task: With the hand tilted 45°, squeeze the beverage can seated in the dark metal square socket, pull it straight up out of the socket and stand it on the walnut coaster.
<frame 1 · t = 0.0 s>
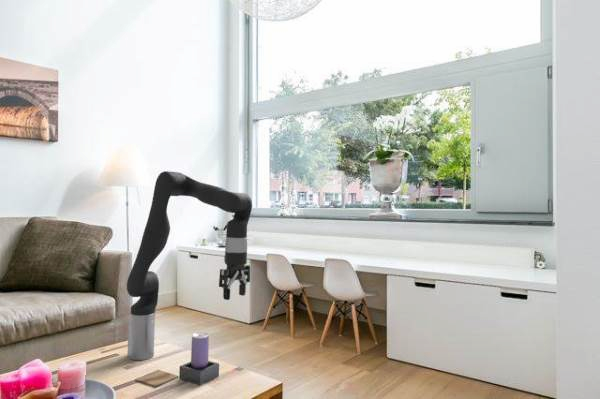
hand: (234, 297, 151), 29 cm above the table, tool pointing down, fingers open, 8 cm apart
beverage can: (199, 378, 153), resting in square socket
square socket: (199, 377, 153), on the table
walnut coaster: (157, 379, 151), on the table
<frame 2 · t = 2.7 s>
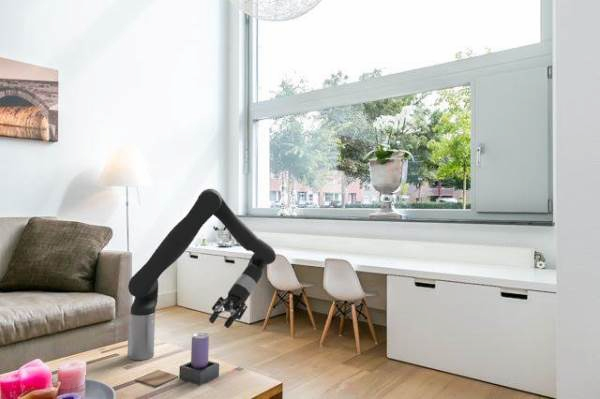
hand: (218, 324, 160), 17 cm above the table, tool tilted 45°, fingers open, 8 cm apart
nothing on the table moved.
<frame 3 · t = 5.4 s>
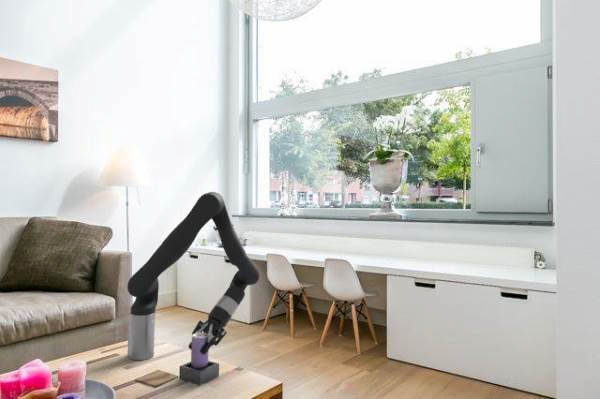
hand: (196, 350, 152), 10 cm above the table, tool tilted 45°, fingers closed on beverage can, 6 cm apart
beverage can: (199, 378, 153), resting in square socket, touching gripper
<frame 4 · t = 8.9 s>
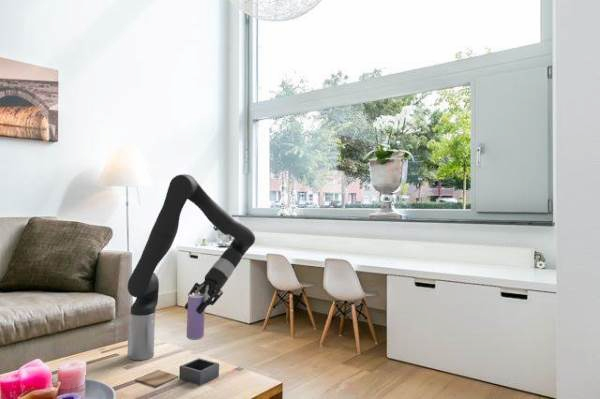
hand: (192, 310, 152), 24 cm above the table, tool tilted 45°, fingers closed on beverage can, 6 cm apart
beverage can: (195, 338, 154), point 14 cm above the table, touching gripper
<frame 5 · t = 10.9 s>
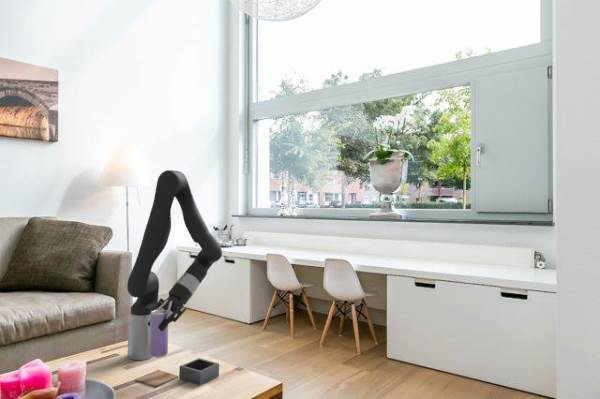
hand: (154, 327, 150), 18 cm above the table, tool tilted 45°, fingers closed on beverage can, 6 cm apart
beverage can: (158, 355, 151), point 8 cm above the table, touching gripper
when the fingers open (11 cm above the table, at t = 12.7 s): beverage can stays where it is, resting on walnut coaster.
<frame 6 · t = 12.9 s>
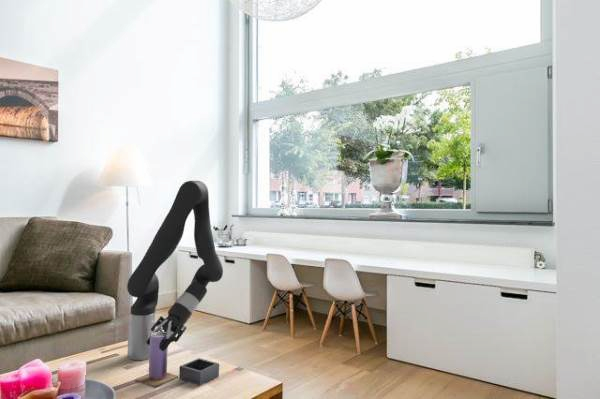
hand: (154, 347, 150), 11 cm above the table, tool tilted 45°, fingers open, 7 cm apart
beverage can: (157, 377, 151), resting on walnut coaster
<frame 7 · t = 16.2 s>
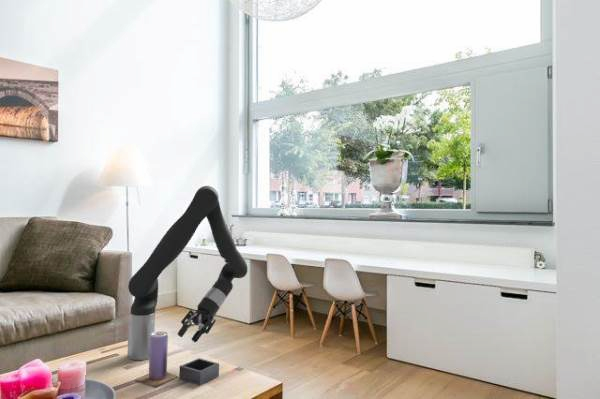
hand: (186, 338, 160), 12 cm above the table, tool tilted 45°, fingers open, 8 cm apart
nothing on the table moved.
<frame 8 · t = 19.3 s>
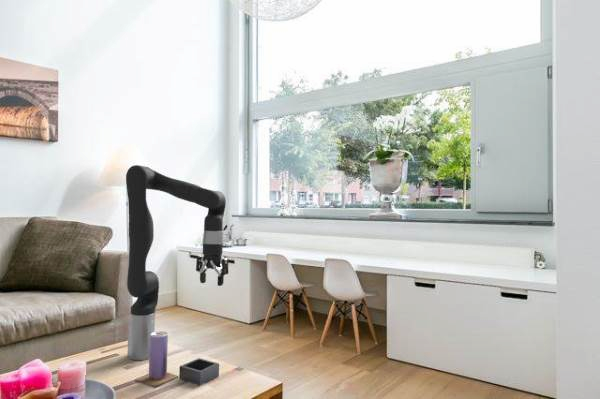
hand: (211, 284, 168), 30 cm above the table, tool pointing down, fingers open, 8 cm apart
nothing on the table moved.
at the end: beverage can 0.2 cm off-centre on the walnut coaster, point 0.4 cm above the walnut coaster's base; beverage can tilted 0°; the gripper is holding nothing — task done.
